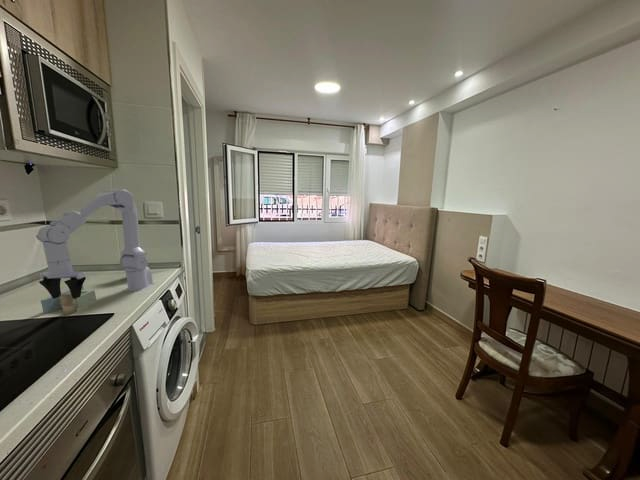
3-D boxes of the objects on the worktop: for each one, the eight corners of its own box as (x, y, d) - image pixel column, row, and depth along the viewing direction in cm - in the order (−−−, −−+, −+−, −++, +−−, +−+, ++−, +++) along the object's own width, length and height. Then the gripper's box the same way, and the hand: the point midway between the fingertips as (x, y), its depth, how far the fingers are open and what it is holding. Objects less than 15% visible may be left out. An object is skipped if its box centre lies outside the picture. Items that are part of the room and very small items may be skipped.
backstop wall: (81, 297, 105) (79, 285, 104) (85, 297, 105) (83, 285, 104) (43, 313, 92) (40, 300, 91) (47, 313, 92) (44, 300, 91)
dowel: (71, 310, 93) (67, 292, 92) (79, 310, 93) (75, 292, 92) (61, 314, 90) (57, 296, 89) (69, 315, 90) (65, 296, 88)
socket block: (79, 299, 103) (77, 290, 102) (96, 299, 102) (94, 290, 102) (60, 307, 96) (58, 297, 95) (78, 307, 95) (76, 297, 95)
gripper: (25, 263, 84) (34, 302, 87) (66, 263, 83) (74, 302, 86) (49, 258, 91) (57, 294, 94) (87, 258, 90) (94, 294, 93)
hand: (66, 297), depth 90 cm, fingers open, 7 cm apart
